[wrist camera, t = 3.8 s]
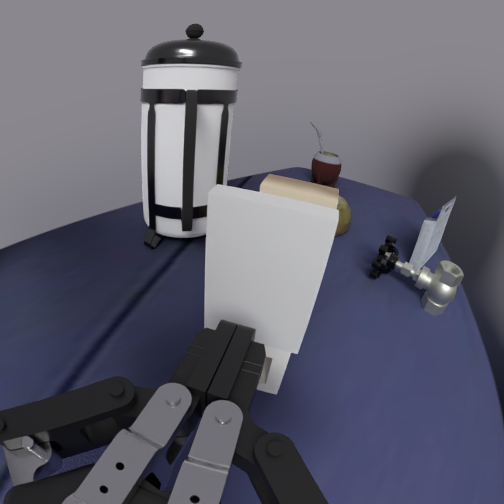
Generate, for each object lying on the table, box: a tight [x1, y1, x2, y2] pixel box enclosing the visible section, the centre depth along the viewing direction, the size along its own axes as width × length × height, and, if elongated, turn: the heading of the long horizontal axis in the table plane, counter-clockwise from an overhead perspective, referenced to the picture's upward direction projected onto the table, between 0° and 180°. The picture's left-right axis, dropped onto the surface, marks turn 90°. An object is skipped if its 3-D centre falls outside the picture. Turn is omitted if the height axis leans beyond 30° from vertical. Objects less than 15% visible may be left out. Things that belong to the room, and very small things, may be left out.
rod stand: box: [260, 174, 339, 330], centre depth 26 cm, size 23×8×12 cm, turn 164°
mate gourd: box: [311, 122, 341, 188], centre depth 66 cm, size 8×8×15 cm
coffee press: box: [140, 24, 242, 249], centre depth 36 cm, size 17×16×30 cm
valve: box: [369, 235, 463, 316], centre depth 35 cm, size 7×7×12 cm
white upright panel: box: [204, 184, 339, 395], centre depth 19 cm, size 4×6×14 cm, turn 74°
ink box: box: [409, 196, 456, 269], centre depth 43 cm, size 12×2×12 cm, turn 130°
